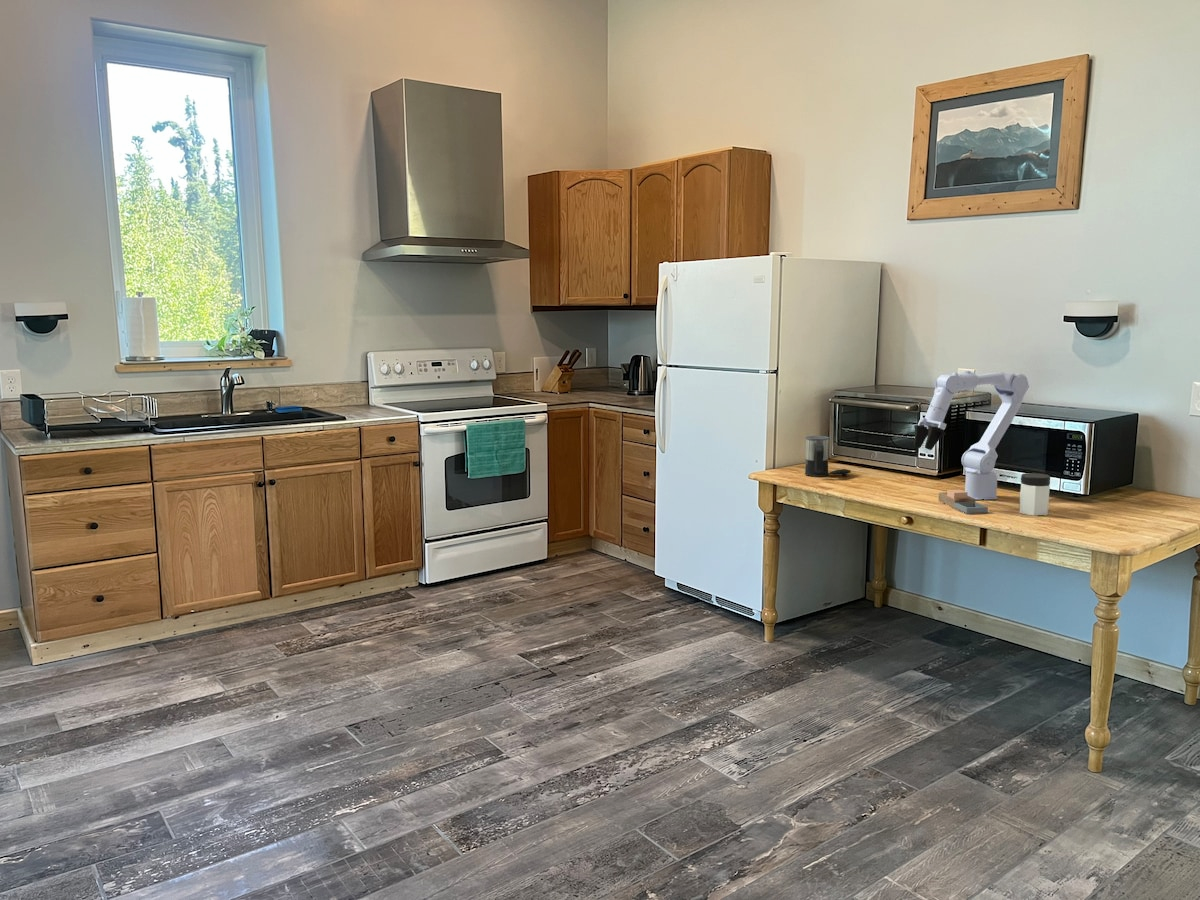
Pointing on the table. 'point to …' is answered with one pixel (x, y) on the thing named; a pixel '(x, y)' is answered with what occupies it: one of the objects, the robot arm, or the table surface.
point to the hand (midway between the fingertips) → (922, 448)
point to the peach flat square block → (957, 494)
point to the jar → (1034, 494)
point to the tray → (971, 507)
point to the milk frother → (819, 457)
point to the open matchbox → (951, 501)
